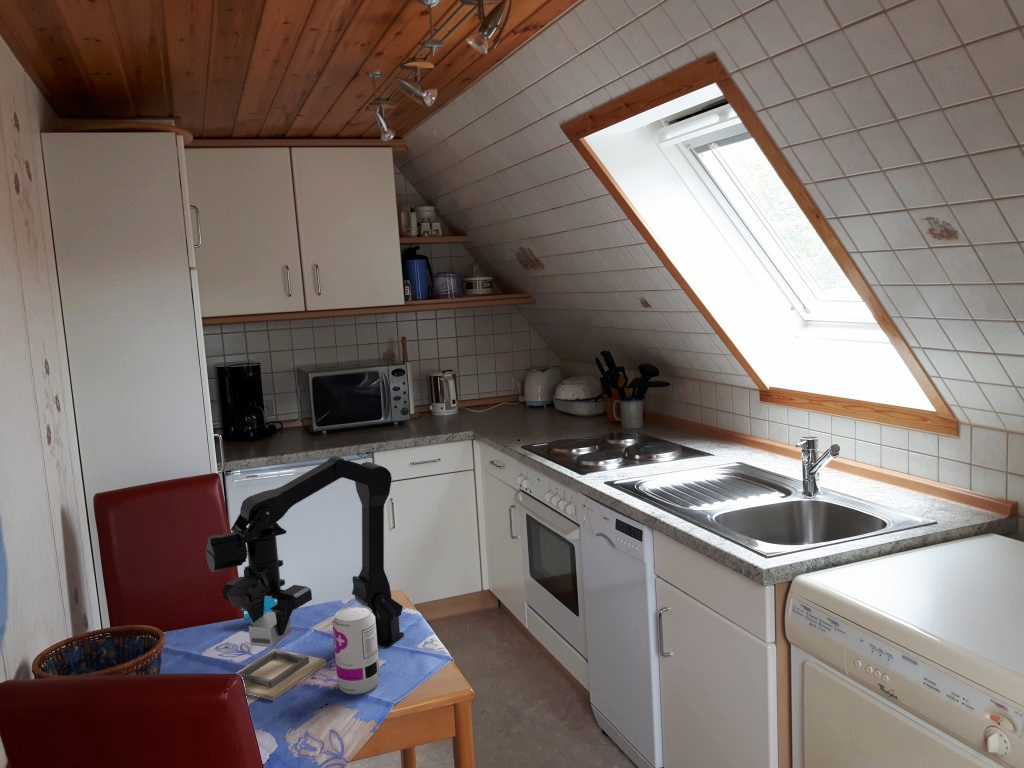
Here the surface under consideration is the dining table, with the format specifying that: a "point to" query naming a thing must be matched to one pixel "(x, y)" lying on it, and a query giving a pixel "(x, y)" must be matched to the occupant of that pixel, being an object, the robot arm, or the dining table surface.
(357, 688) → the supplement can
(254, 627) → the block
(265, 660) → the dock
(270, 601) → the gear
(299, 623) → the dining table surface
